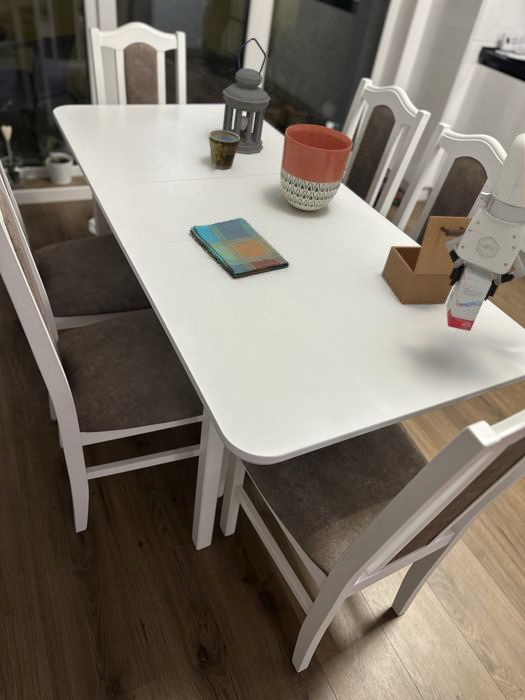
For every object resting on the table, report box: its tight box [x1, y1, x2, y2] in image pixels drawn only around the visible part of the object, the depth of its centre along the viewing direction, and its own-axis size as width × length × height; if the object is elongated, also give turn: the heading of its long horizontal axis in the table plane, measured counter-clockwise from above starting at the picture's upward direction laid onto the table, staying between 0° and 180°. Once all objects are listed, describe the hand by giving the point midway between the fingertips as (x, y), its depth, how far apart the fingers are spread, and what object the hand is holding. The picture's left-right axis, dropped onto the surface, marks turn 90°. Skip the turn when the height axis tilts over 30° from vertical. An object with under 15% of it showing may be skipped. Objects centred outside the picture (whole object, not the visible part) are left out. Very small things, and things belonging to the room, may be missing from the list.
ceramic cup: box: [208, 129, 240, 171], centre depth 177 cm, size 13×10×10 cm
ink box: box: [445, 261, 492, 332], centre depth 108 cm, size 9×5×12 cm, turn 165°
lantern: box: [221, 37, 272, 155], centre depth 186 cm, size 17×17×35 cm
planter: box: [279, 123, 354, 212], centre depth 160 cm, size 20×20×21 cm
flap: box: [414, 215, 473, 274], centre depth 124 cm, size 14×12×4 cm
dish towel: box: [189, 217, 290, 278], centre depth 141 cm, size 17×23×3 cm
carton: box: [381, 245, 454, 305], centre depth 137 cm, size 13×12×9 cm
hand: (469, 289), depth 108 cm, fingers closed on ink box, 6 cm apart
